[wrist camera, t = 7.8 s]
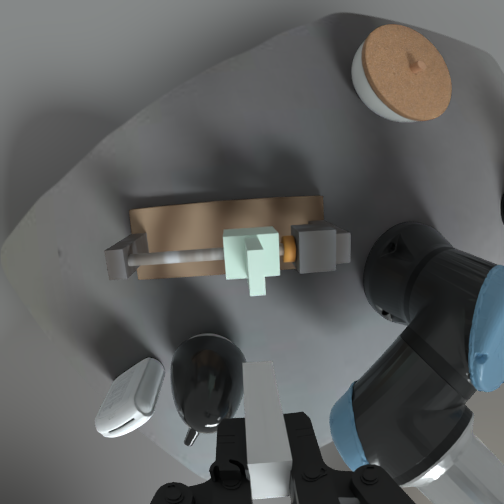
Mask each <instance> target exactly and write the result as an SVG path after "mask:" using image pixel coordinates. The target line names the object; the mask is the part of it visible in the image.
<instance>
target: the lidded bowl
mask: <svg viewBox="0 0 504 504" xmlns="http://www.w3.org/2000/svg"><path fill="white" fill-rule="evenodd" d="M351 75H352V81H353V85H354V88H355V90H356V92H357V94H358V96H359V98H360V99H361V100H362V102H363V103H364V104H365V105H366V106H367V107H368V108H369V109H370V110H371V111H373V112H374V113H376V114H377V115H379V116H381V117H383V118H385V119H388V120H391V121H397V122H417V121H427V120H431V119H434V118H437V117H439V116H440V115H441V114H442V113H443V112H444V111H445V110H446V109H447V107H448V105H449V102H450V98H451V91H452V87H451V79H450V74H449V71H448V68H447V66H446V64H445V62H444V60H443V58H442V56H441V55H440V53H439V52H438V50H437V49H436V48H435V47H434V45H433V44H432V43H431V42H430V41H429V40H427V39H426V38H425V37H424V36H423V35H421V34H420V33H418V32H416V31H415V30H413V29H410V28H408V27H405V26H402V25H396V24H387V25H383V26H380V27H378V28H376V29H375V30H374V31H372V32H371V33H370V34H369V36H368V37H367V38H366V39H365V41H364V42H363V43H362V44H361V45H360V47H359V48H358V50H357V51H356V54H355V56H354V58H353V62H352V69H351Z"/></svg>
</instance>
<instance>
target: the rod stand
mask: <svg viewBox="0 0 504 504" xmlns="http://www.w3.org/2000/svg"><path fill="white" fill-rule="evenodd" d="M129 215H130V224H131V232H132V234H131V235H129V236H128V237H126V238H124V239H123V240H121V241H119V242H118V243H116V244H115V245H113V246H111V247H110V248H108V249H106V250H105V251H104V252H105V258H106V264H107V270H108V275H109V280H120V279H128V278H129V277H130V276H131V275H132V274H133V273H134V272H135V271H136V269H137V274H138V280H143V279H160V278H176V277H192V276H207V275H221V274H226V270H225V258H224V246H223V232H224V230H226V229H240V228H255V227H270V226H273V228H274V229H275V230H276V231H277V232H278V233H279V260H280V270H287V269H297V270H298V272H299V273H300V274H303V273H315V272H326V271H336V264H342V263H350V247H351V233H350V232H348V231H346V230H343V229H341V228H339V227H337V226H335V225H333V224H331V223H329V222H326V221H324V212H323V196H293V197H272V198H254V199H239V200H224V201H211V202H199V203H187V204H176V205H166V206H156V207H147V208H137V209H131V210H129Z"/></svg>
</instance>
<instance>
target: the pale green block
mask: <svg viewBox="0 0 504 504" xmlns="http://www.w3.org/2000/svg"><path fill="white" fill-rule="evenodd" d="M223 246H224V258H225V270H226V280H228V279H241V278H247V281H248V287H249V292H250V296H260V295H266V290H265V277H267V276H280V260H279V233H278V232H277V231H276V230H275V229H274V228H273V226H270V227H255V228H240V229H226V230H224V232H223Z"/></svg>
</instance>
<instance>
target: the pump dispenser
mask: <svg viewBox="0 0 504 504" xmlns="http://www.w3.org/2000/svg"><path fill="white" fill-rule="evenodd" d="M243 363H246V359H245V357H244V355H243V353H242V352H241V350H240V349H239V348H238V347H237V346H236V345H235V344H234V343H232V342H231V341H230V340H229V339H227V338H225V337H223V336H220V335H217V334H210V333H206V334H199V335H196V336H193V337H191V338H190V339H188V340H186V341H185V342H183V343H182V344H181V345H180V346H179V347H178V348H177V349H176V351H175V353H174V355H173V358H172V362H171V389H172V395H173V399H174V403H175V406H176V409H177V411H178V413H179V415H180V417H181V419H182V420H183V422H184V423H185V424H186V425H187V426H188V427H189V430H188V432H187V435H186V438H185V440H184V443H185V445H187V446H192V445H193V443H194V442H195V440H196V438H197V437H198V435H199V434H200V433H203V434H212V433H216V432H217V427H218V425H219V424H220V422H221V420H222V419H227V418H233V417H234V415H235V414H236V412H237V410H238V408H239V405H240V403H241V400H242V397H243V394H244V385H243Z"/></svg>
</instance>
